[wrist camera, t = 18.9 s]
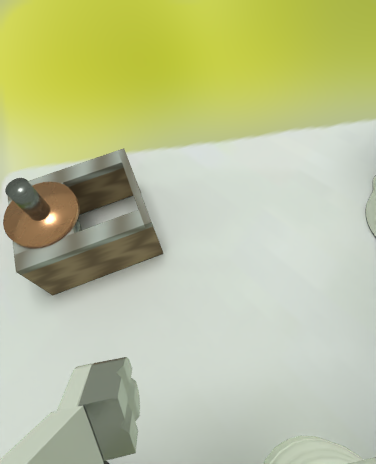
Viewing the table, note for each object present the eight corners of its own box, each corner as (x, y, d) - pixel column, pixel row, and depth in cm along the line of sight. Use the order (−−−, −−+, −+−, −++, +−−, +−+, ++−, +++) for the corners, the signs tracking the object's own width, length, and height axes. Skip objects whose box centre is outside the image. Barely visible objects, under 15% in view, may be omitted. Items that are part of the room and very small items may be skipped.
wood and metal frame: (138, 187, 57) (123, 148, 48) (163, 253, 50) (151, 222, 42) (40, 222, 55) (6, 188, 46) (52, 295, 49) (15, 271, 40)
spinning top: (85, 196, 51) (51, 145, 41) (98, 248, 46) (64, 205, 36) (23, 218, 50) (-27, 171, 40) (31, 273, 45) (-23, 236, 35)
